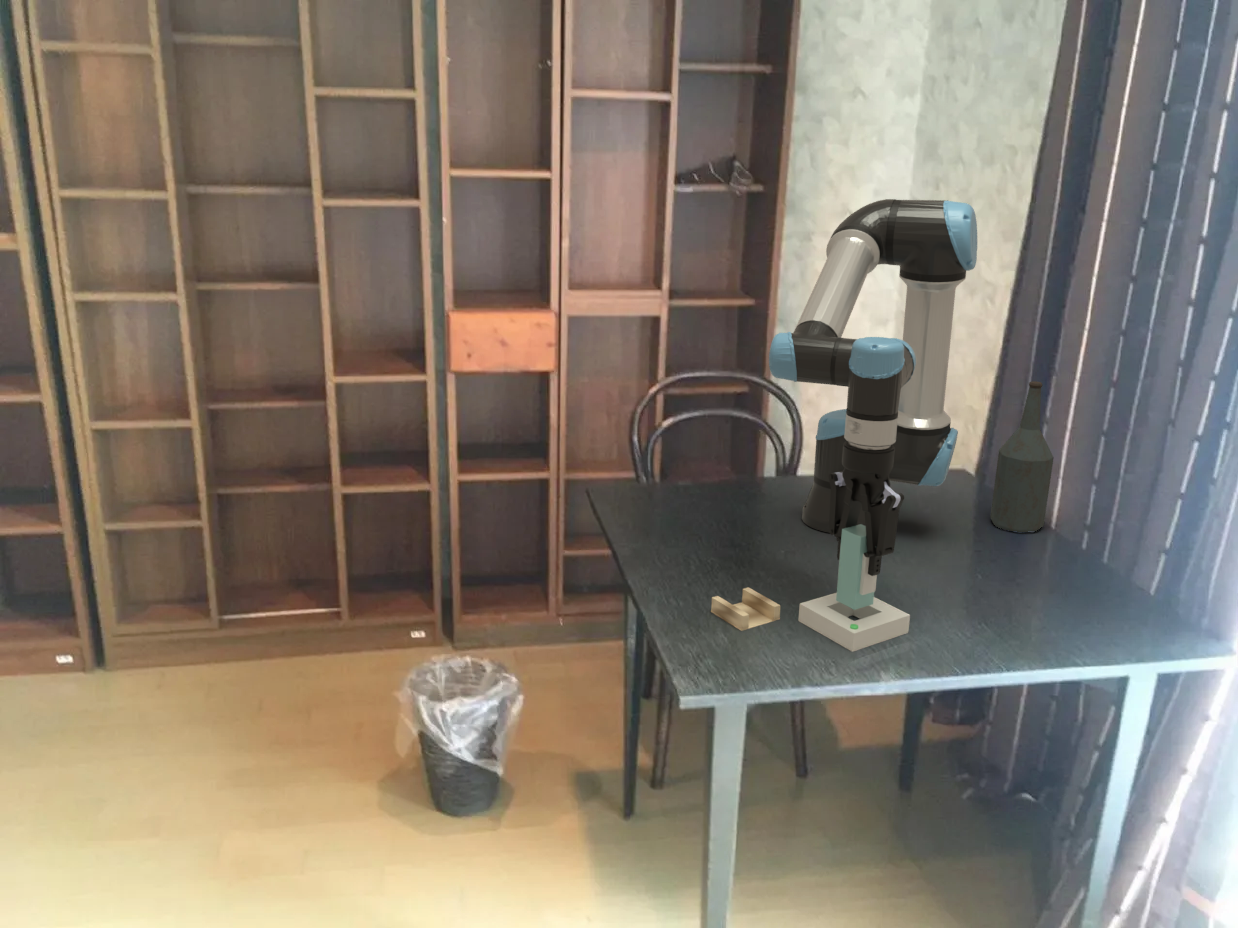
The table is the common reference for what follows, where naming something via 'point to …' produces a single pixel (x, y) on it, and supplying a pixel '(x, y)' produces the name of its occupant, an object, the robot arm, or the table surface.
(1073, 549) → the table surface
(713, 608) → the wooden cradle
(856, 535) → the plug
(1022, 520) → the bottle
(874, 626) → the frame
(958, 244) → the robot arm
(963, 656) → the table surface
